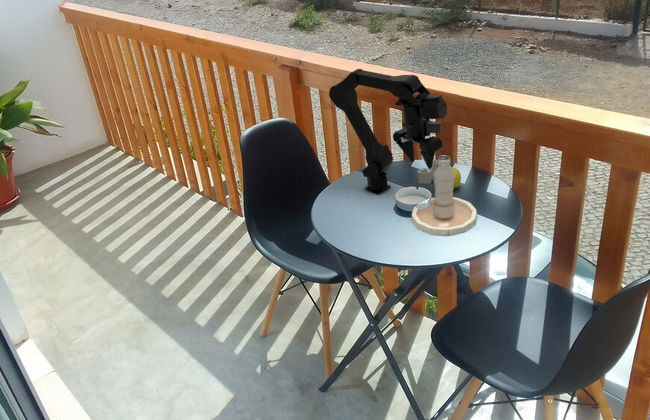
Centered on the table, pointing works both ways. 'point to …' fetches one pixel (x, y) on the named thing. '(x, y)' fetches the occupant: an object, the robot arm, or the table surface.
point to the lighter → (426, 174)
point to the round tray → (454, 225)
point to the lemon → (456, 178)
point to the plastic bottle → (443, 188)
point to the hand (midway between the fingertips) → (421, 164)
